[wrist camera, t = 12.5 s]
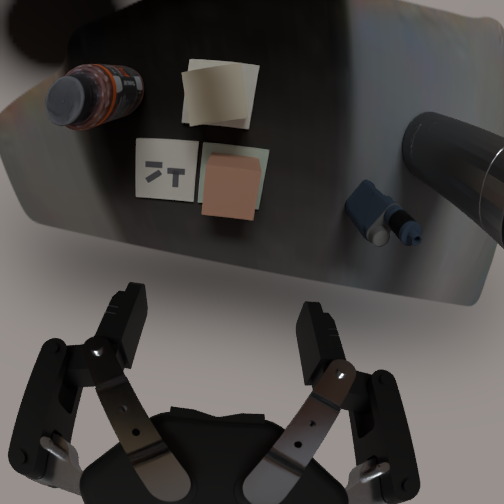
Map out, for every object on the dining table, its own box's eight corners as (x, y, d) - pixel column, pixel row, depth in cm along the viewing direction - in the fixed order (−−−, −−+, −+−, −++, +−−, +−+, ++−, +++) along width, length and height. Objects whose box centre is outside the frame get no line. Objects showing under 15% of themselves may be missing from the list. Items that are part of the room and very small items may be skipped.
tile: (259, 65, 23) (259, 65, 23) (248, 128, 27) (248, 129, 27) (190, 59, 23) (189, 59, 22) (182, 122, 26) (181, 122, 26)
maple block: (241, 67, 23) (241, 62, 19) (247, 112, 26) (248, 118, 22) (191, 74, 23) (181, 72, 19) (198, 119, 26) (190, 126, 22)
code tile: (199, 141, 28) (198, 142, 27) (193, 200, 32) (193, 201, 31) (137, 137, 27) (136, 138, 27) (136, 195, 31) (135, 196, 30)
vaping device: (380, 187, 31) (432, 237, 21) (353, 217, 33) (394, 277, 24) (366, 174, 30) (419, 222, 20) (339, 206, 33) (378, 265, 23)
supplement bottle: (151, 67, 23) (103, 62, 13) (140, 119, 26) (91, 142, 16) (102, 65, 22) (41, 65, 12) (94, 115, 25) (33, 137, 15)
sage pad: (269, 149, 29) (269, 150, 28) (258, 207, 32) (258, 209, 32) (203, 141, 28) (203, 142, 27) (198, 200, 32) (197, 202, 31)
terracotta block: (258, 157, 29) (261, 171, 25) (251, 200, 31) (253, 220, 27) (211, 152, 28) (206, 164, 24) (207, 195, 31) (201, 214, 27)
